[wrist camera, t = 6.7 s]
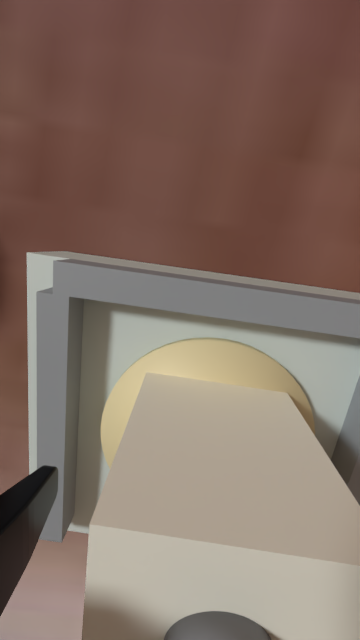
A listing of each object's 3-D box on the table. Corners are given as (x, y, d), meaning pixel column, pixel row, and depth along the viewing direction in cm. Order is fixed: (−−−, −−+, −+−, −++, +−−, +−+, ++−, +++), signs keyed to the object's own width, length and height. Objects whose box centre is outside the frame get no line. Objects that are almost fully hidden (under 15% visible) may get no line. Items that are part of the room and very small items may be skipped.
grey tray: (313, 512, 15) (355, 606, 11) (59, 474, 15) (13, 553, 11) (386, 297, 12) (481, 321, 8) (64, 251, 12) (2, 253, 8)
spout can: (244, 549, 12) (304, 907, 5) (127, 531, 12) (51, 864, 5) (287, 392, 10) (463, 666, 3) (146, 371, 10) (59, 602, 3)
